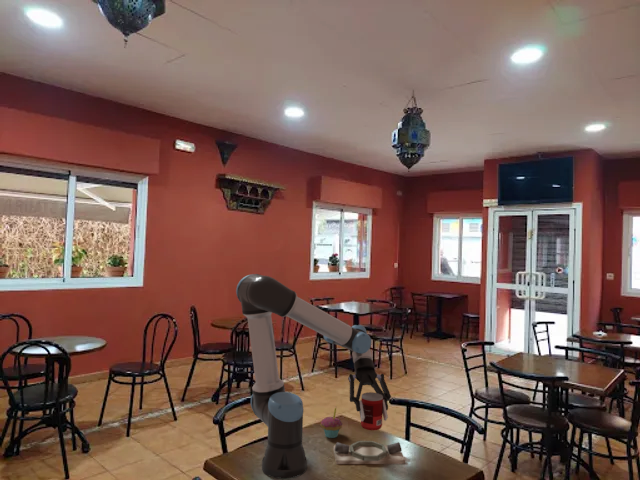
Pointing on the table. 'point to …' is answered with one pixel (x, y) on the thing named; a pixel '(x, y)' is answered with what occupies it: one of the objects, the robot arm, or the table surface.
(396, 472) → the table surface
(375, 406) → the canned food
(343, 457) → the plate
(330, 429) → the cupcake
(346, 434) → the table surface
